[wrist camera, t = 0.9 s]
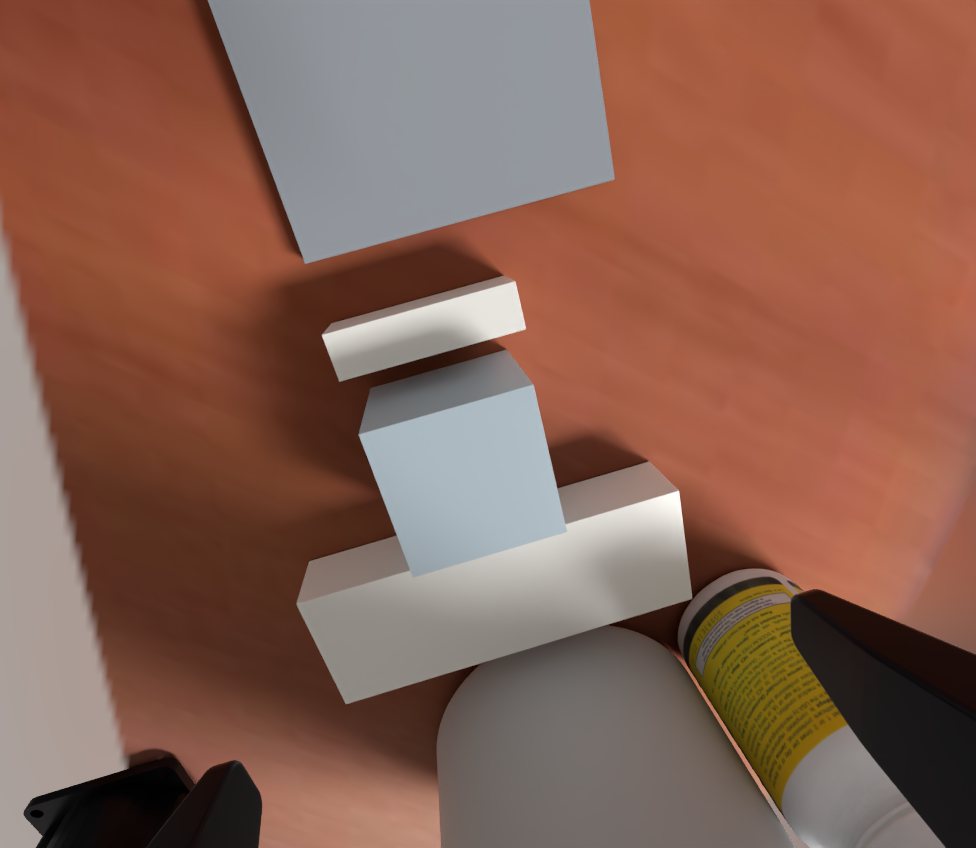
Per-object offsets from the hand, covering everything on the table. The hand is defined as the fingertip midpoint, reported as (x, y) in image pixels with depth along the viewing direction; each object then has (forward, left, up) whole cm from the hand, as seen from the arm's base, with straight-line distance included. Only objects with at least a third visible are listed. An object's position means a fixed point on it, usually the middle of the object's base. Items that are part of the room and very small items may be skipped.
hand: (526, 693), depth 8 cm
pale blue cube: (0, 0, -12) cm, 12 cm away
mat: (+2, +12, -12) cm, 17 cm away
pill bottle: (+10, -13, -12) cm, 21 cm away
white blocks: (0, -2, -12) cm, 12 cm away
